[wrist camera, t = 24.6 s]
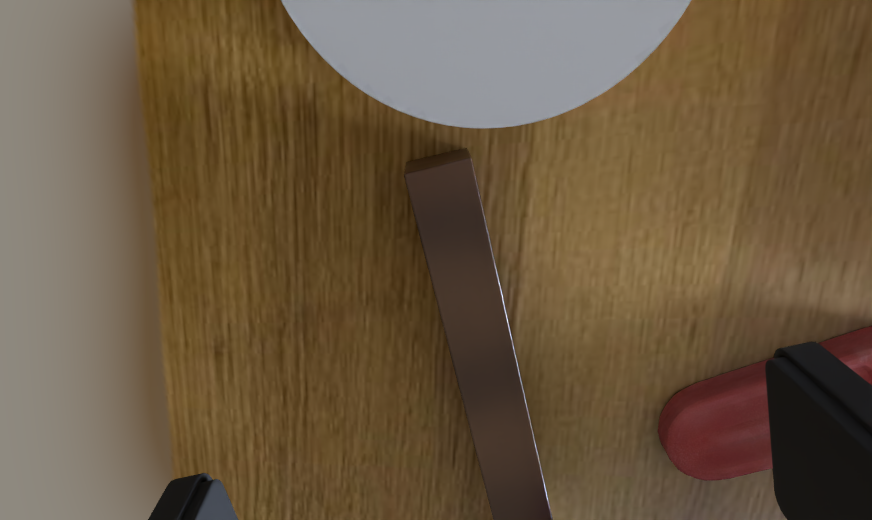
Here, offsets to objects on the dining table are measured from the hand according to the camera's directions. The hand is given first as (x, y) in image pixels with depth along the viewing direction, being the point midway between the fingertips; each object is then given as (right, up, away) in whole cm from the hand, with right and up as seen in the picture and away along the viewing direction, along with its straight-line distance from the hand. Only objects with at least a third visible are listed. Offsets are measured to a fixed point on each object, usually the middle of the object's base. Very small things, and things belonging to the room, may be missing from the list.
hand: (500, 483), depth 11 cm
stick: (+1, 0, +16) cm, 16 cm away
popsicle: (+16, -2, +17) cm, 23 cm away
